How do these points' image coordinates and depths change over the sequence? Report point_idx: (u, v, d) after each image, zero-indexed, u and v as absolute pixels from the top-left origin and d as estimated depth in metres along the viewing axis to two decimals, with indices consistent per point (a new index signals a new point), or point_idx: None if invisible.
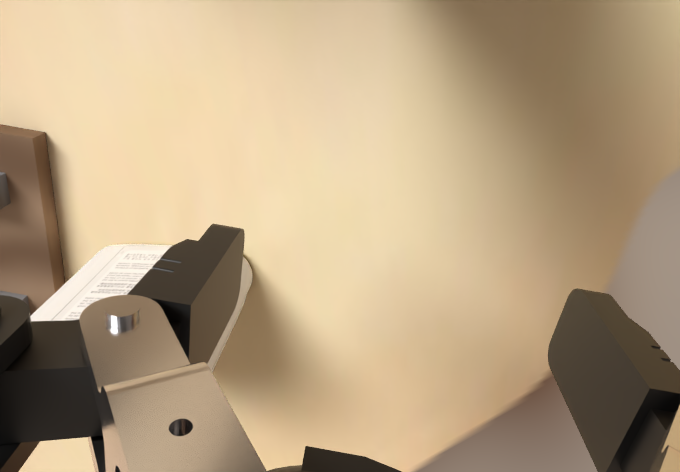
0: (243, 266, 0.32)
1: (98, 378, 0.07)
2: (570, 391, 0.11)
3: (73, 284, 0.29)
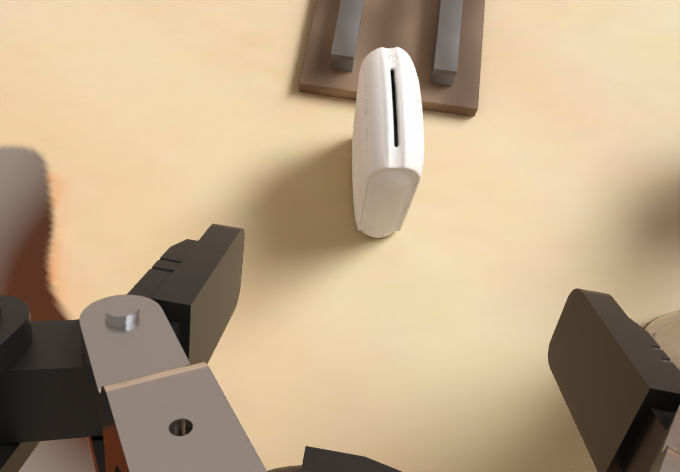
0: (392, 231, 0.41)
1: (99, 377, 0.07)
2: (570, 391, 0.11)
3: None
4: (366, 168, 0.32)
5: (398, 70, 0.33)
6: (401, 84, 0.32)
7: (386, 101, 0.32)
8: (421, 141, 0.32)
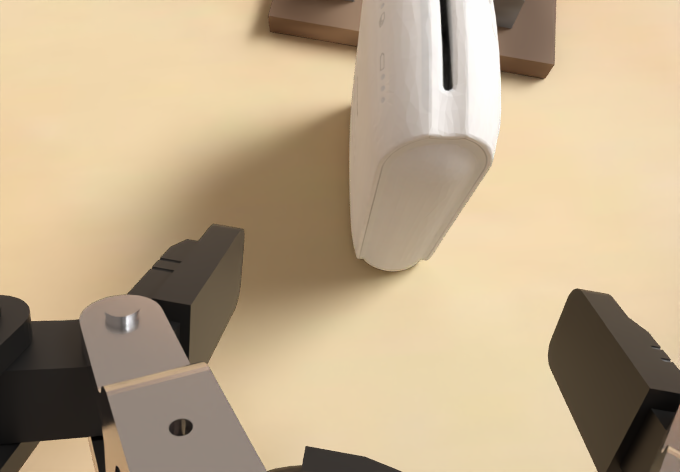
0: (415, 261, 0.24)
1: (98, 378, 0.07)
2: (570, 391, 0.11)
3: None
4: (380, 138, 0.15)
5: None
6: None
7: None
8: (498, 84, 0.15)
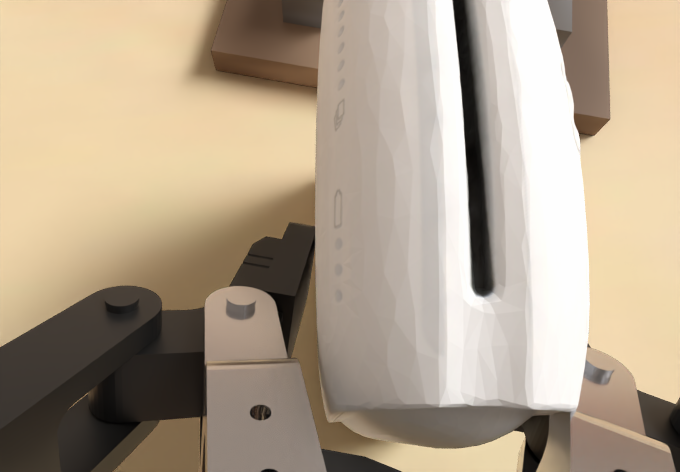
0: None
1: (208, 354, 0.07)
2: None
3: None
4: (335, 372, 0.07)
5: None
6: None
7: (435, 67, 0.07)
8: (587, 254, 0.07)
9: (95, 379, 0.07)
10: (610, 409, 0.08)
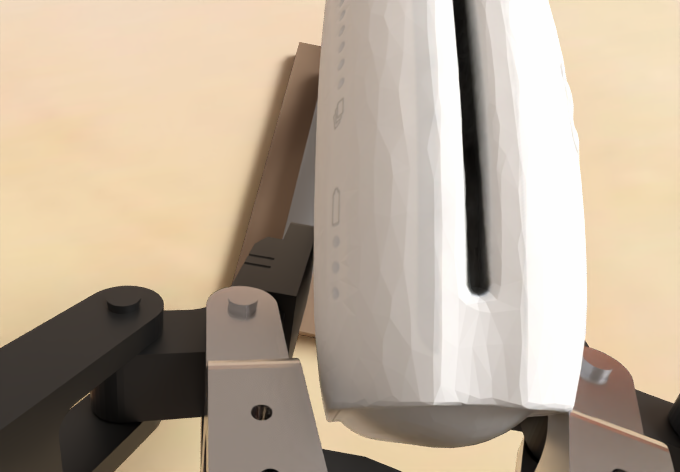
0: None
1: (209, 354, 0.07)
2: None
3: None
4: (331, 370, 0.07)
5: None
6: None
7: (434, 66, 0.07)
8: (584, 255, 0.07)
9: (96, 379, 0.07)
10: (609, 409, 0.08)
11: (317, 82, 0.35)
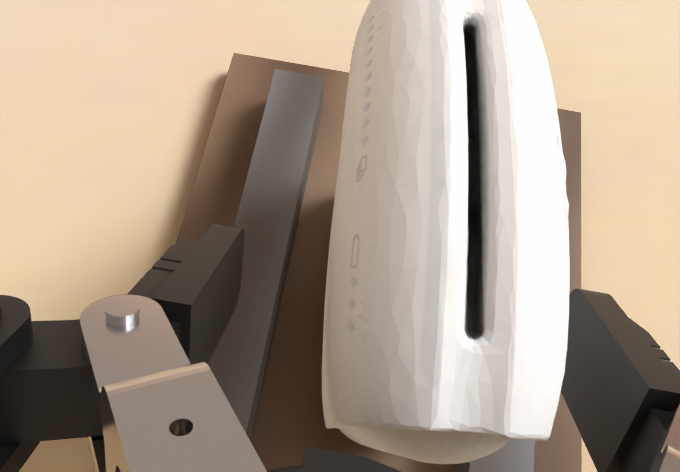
0: None
1: (98, 378, 0.07)
2: (570, 391, 0.11)
3: None
4: (343, 391, 0.08)
5: (495, 25, 0.09)
6: (507, 74, 0.08)
7: (447, 139, 0.08)
8: (567, 305, 0.08)
9: None
10: None
11: (261, 116, 0.22)
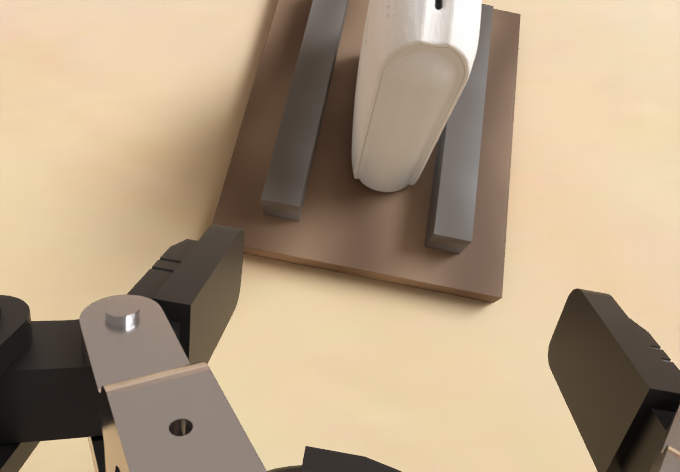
0: (403, 183, 0.28)
1: (98, 378, 0.07)
2: (570, 391, 0.11)
3: None
4: (383, 46, 0.19)
5: None
6: None
7: None
8: (478, 13, 0.19)
9: None
10: None
11: (308, 5, 0.33)
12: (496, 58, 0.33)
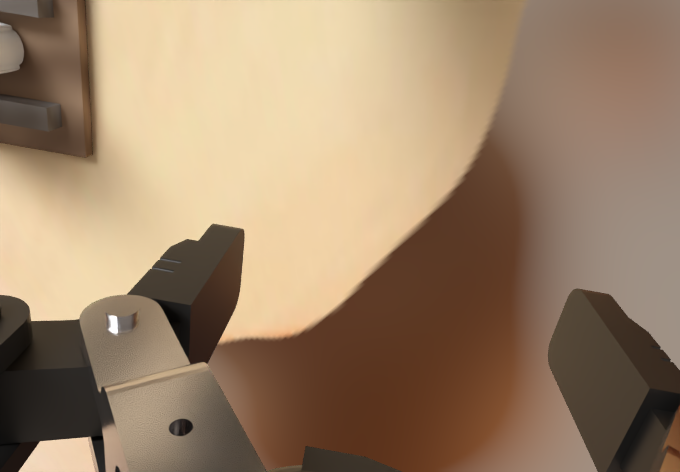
0: (11, 35, 0.41)
1: (98, 378, 0.07)
2: (570, 391, 0.11)
3: None
4: None
5: None
6: None
7: None
8: None
9: None
10: None
11: None
12: None
